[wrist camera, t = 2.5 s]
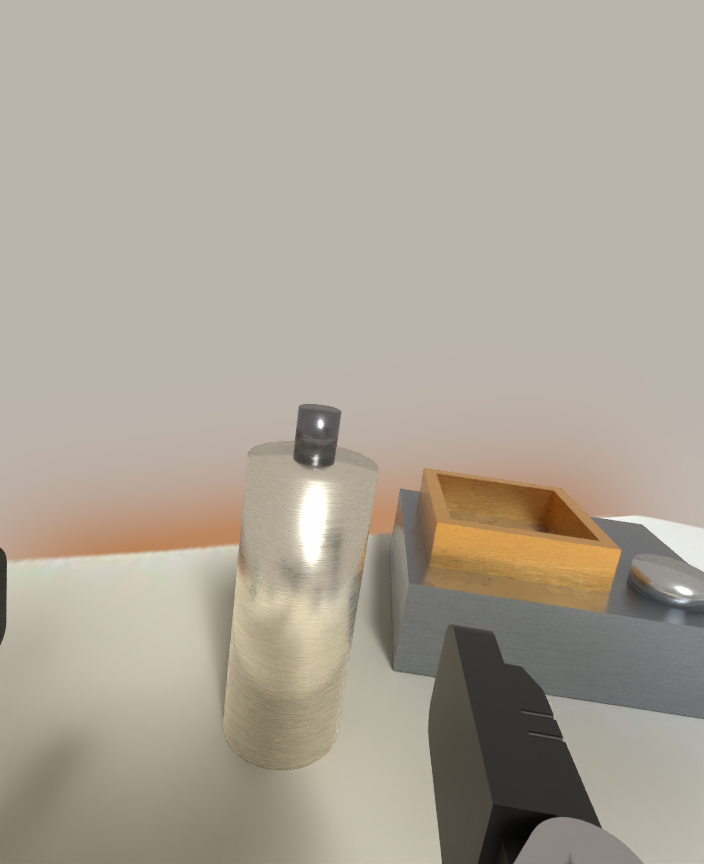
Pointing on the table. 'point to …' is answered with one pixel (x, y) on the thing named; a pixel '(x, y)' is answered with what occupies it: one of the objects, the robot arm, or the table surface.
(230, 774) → the table surface
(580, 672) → the grey base with tray
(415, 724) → the table surface
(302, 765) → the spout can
